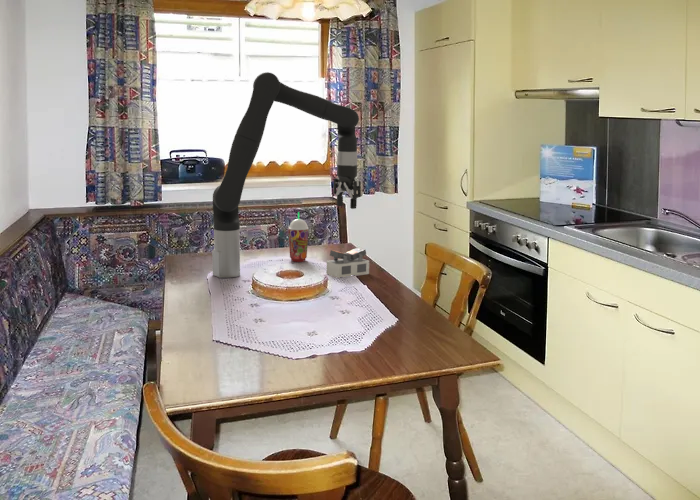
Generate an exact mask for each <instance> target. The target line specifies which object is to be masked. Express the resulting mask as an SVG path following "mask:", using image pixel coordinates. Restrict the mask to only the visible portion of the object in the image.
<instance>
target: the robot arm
mask: <svg viewBox="0 0 700 500" xmlns="http://www.w3.org/2000/svg"><path fill="white" fill-rule="evenodd" d="M274 102H276V103H280V104H284V105H286V106H289V107H293V108H295V109H297V110H299V111H302V112H304V113H306V114H309V115H310V116H313V117H315V118H318V119H321V120H325V121H330V122H332V123H334V124H336V125H337V127H336V128H337V142H338V143H337V151H338V152H337V155H336V159H337V160H336V176H337V178H335V177H334V178H333V188H332V190H333V191H332V193H333V194H334V195H335V196H336V206H337V207H343V205H344V194H345V192H346V193H347V194H348V195H349V197H350V201H349V202H350V205H349V208H350V209H352V210H356V209H357V200H358V199H359V198H361V197H362V194H361V193H362V191H361V190H362V189H361V188H362V187H361V186H362V185H361V183H362V182H361V181H360V180H356V178H357V177H358V139H357V136H356V126H357V125H358V123H359V121H360V118H359V114H358V112H357V111H356V110H354V109H352V108H350V107H347V106H343V105H341V104H338V103H334V102H332V101H331V100H328V99H326V98H323V97H321V96H319V95H316V94H312V93H310V92H305V91H302V90H298V89H296V88H293V87H291V86H288V85H286V84H284V83H283V82H282V81H280V79H279V78H278V77H277V75H275V73H272V72H269V71H266V72H262V73H260V74H258V75H257V76H256V78H255V79H254V81H253V84H252V93H251V97H250V100H249V104H248V107H247V109H246V111H245V113H244V116H242V119H241V121H240V123H239V125H238V127H237V130H236V132H235V135H234V138H233V140H232V143H231V147H230V150H229V157H228V162H227V168H226V171H225V174H224V176H223V178H222V181H221V183H220V184H219V186H217V187H216V188H215V189H214V191H213V193H212V218H213V219H212V221H213V239H214V240H213V249H212V252H211V253H212V255H211V257H212V259H211V260H212V276H214V277H216V278H219V279H221V278H222V279H223V278H225V279H226V278H227V279H230V278H236V277H239V276H241V244H240V242H241V241H240V240H241V237H240V236H241V235H240V234H241V231H240V230H241V229H240V228H241V227H240V226H241V225H240V215H239V205H240V203H241V199H242V194H243V190H244V186H245V182H246V179H247V176H248V174H249V171H250V170H251V167H252V166H253V163H254V161H255V158H256V155H257V154H258V150H259V148H260V145H261V142H262V139H263V136H264V132H265V129H266V124H267V119H268V116H269V113H270V111H271V108H272V107H273V104H274Z"/></svg>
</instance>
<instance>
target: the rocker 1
mask: <svg viewBox="0 0 700 500" xmlns="http://www.w3.org/2000/svg"><path fill="white" fill-rule="evenodd" d="M329 256H331V257H332V258H334V257H336V258H338V259H343V257H344V256H347V260H350V258H351V255H349V254H347V253H346V252H343V251H342V252H340V251H338V250H334V249H332V250H330V253H329Z"/></svg>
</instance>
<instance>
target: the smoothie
mask: <svg viewBox="0 0 700 500" xmlns="http://www.w3.org/2000/svg"><path fill="white" fill-rule="evenodd" d="M287 228H288V229H287V230H288V245H289V246H288V247H289V259H291V261H292V262H293V263H294V262H295V263H297V262H298V263H304V262H306V259H307V258H308V257H307V256H308V244H309V243H308V241H309V229H310V228H309V225H308V224H307V222H306V220H304V219H302V218H300V212H299V211H298V212H297V218H296V219H294V220H292V221H291V222H290V224H289V226H288V227H287Z"/></svg>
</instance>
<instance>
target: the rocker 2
mask: <svg viewBox="0 0 700 500" xmlns="http://www.w3.org/2000/svg"><path fill="white" fill-rule="evenodd" d="M345 253H347V254H349V255H351V258H350V259H352V260H355V259H357V258H358V257H359V255H361V254H362V255H363V256H364V257H365V256H366V255H367V251H366V249H365V248H362V247H359V246H358V247H355V248H353V249H351V250H349V251H346V252H345ZM363 256H362V257H363Z"/></svg>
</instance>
